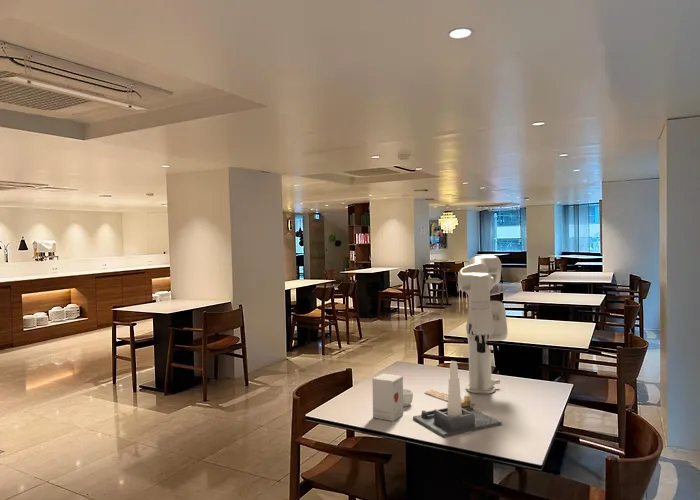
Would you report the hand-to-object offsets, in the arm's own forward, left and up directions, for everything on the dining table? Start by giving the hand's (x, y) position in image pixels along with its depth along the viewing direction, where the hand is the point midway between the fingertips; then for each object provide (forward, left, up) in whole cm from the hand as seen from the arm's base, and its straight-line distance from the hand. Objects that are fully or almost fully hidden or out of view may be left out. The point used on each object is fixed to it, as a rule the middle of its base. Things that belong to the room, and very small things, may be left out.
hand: (481, 352), depth 192 cm
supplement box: (+37, -10, -22) cm, 44 cm away
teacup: (+25, -20, -23) cm, 39 cm away
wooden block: (+11, 0, -21) cm, 24 cm away
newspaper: (+4, -16, -23) cm, 29 cm away
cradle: (+18, +7, -22) cm, 29 cm away
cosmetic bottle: (+21, +10, -21) cm, 31 cm away
